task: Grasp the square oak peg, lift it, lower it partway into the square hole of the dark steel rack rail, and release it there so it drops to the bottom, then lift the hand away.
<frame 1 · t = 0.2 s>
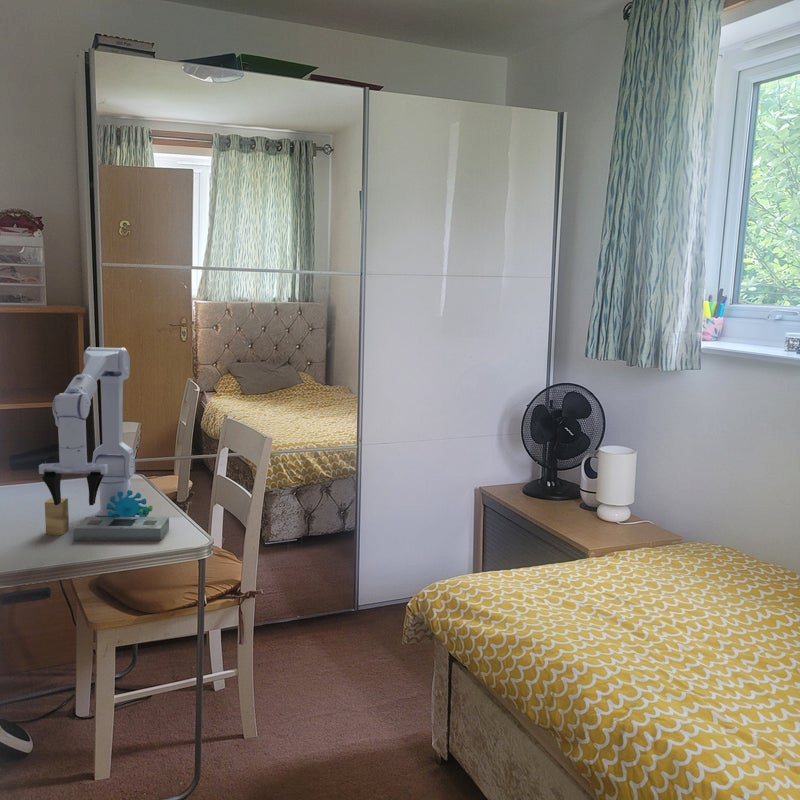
hand: (75, 504, 175), 10 cm above the table, fingers open, 7 cm apart
peg: (57, 531, 186), on the table
gear: (129, 523, 195), on the table
rack rail: (122, 534, 185), on the table
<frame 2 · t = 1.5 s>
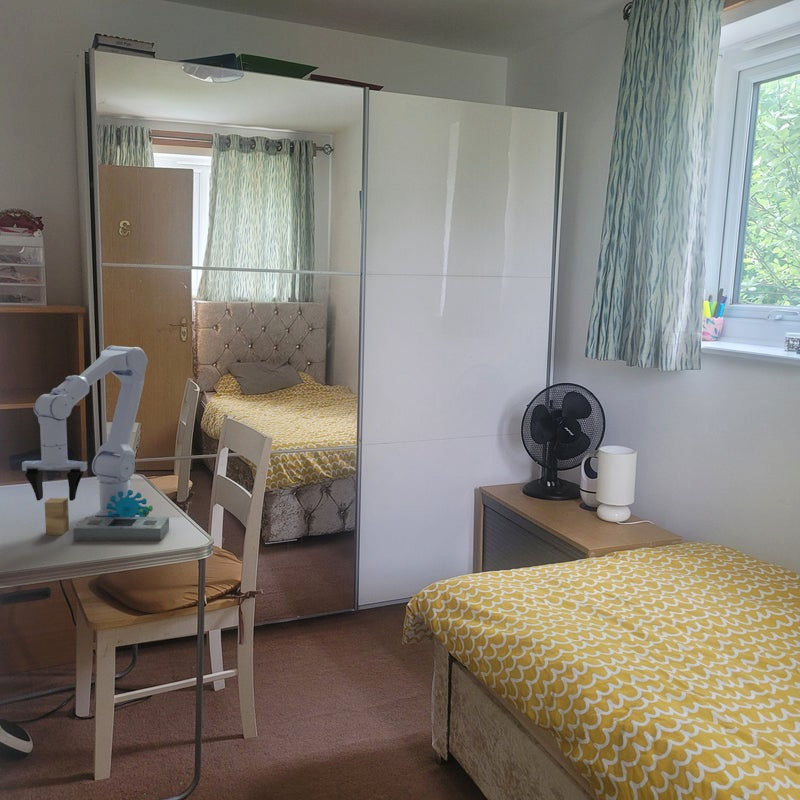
hand: (56, 499, 185), 8 cm above the table, fingers open, 7 cm apart
nothing on the table moved.
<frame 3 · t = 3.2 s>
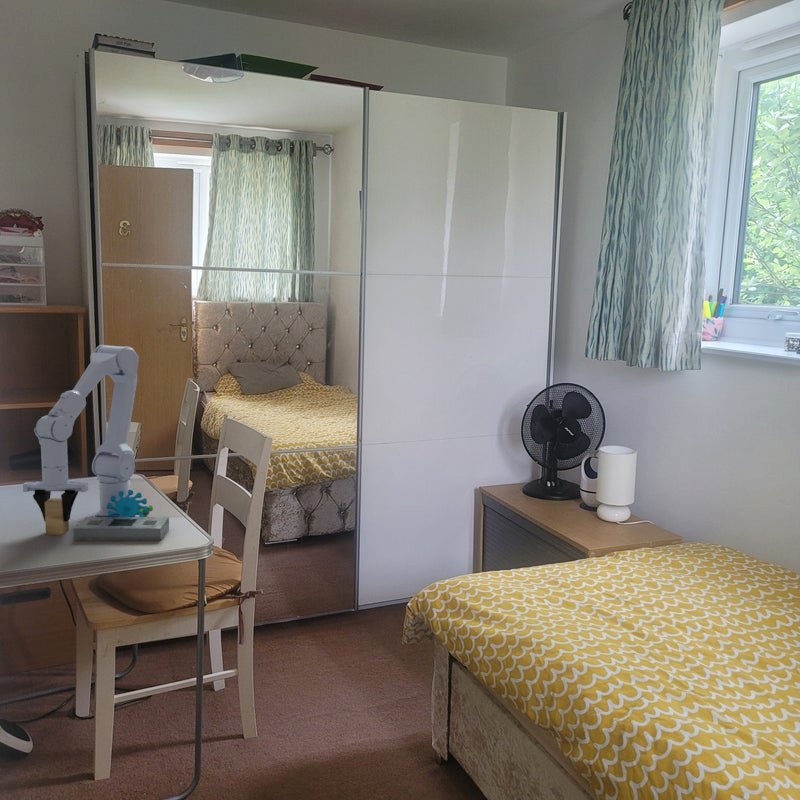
hand: (57, 520, 185), 3 cm above the table, fingers closed on peg, 4 cm apart
peg: (57, 531, 186), on the table, touching gripper
everything else where it was.
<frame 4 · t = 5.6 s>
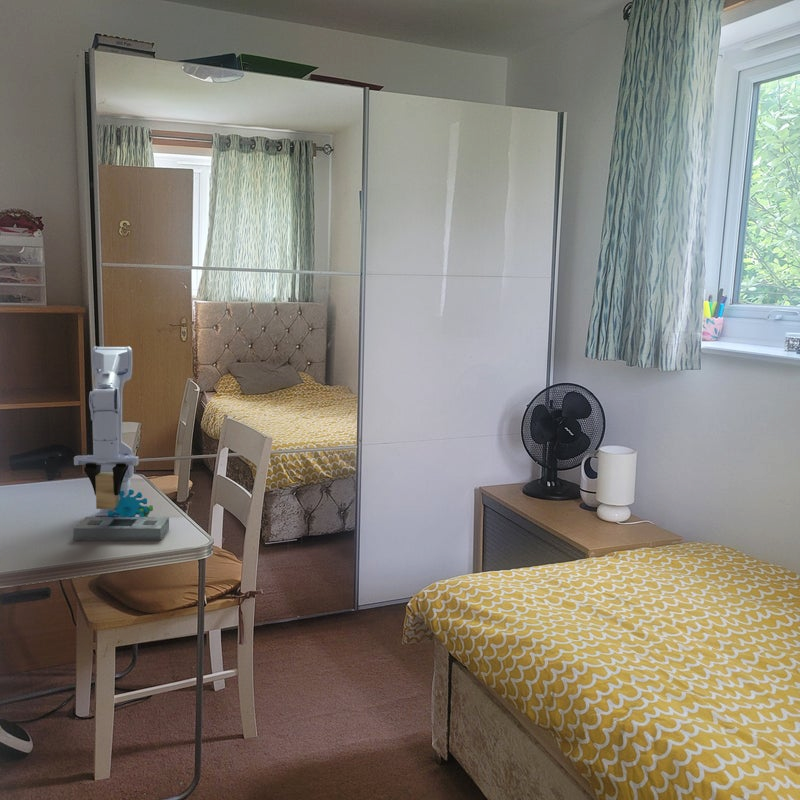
hand: (107, 494, 184), 10 cm above the table, fingers closed on peg, 4 cm apart
peg: (107, 506, 184), point 7 cm above the table, touching gripper
everything else where it was.
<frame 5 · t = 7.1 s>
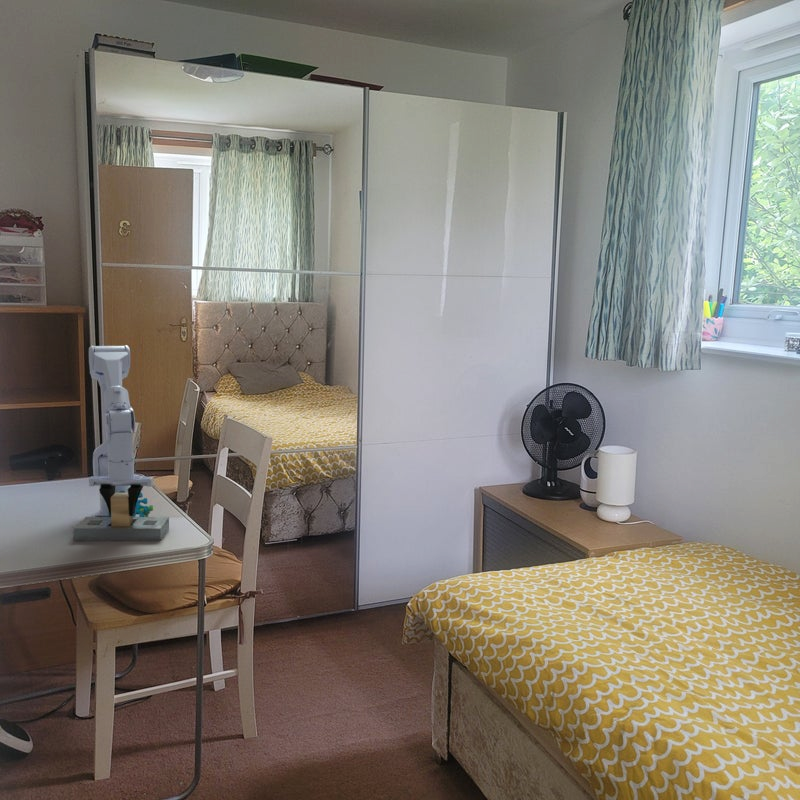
hand: (122, 514, 184), 5 cm above the table, fingers closed on peg, 4 cm apart
peg: (122, 527, 185), point 2 cm above the table, touching gripper
everything else where it was.
when the fingers open (4 cm above the table, at t = 8.2 s): peg stays where it is, resting in rack rail.
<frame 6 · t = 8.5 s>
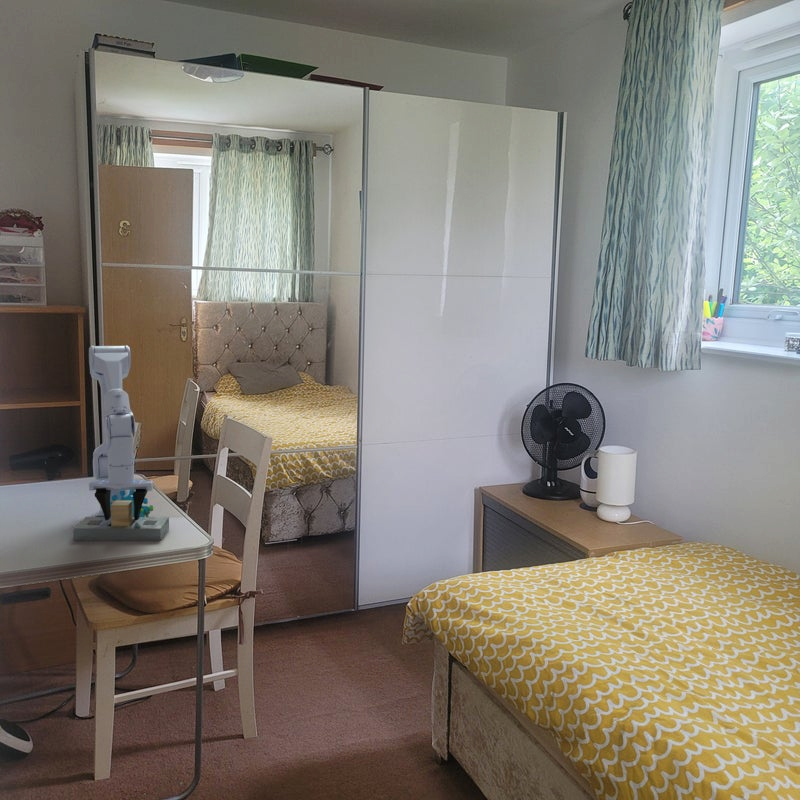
hand: (122, 518, 185), 4 cm above the table, fingers open, 6 cm apart
peg: (122, 534, 185), resting in rack rail
everything else where it was.
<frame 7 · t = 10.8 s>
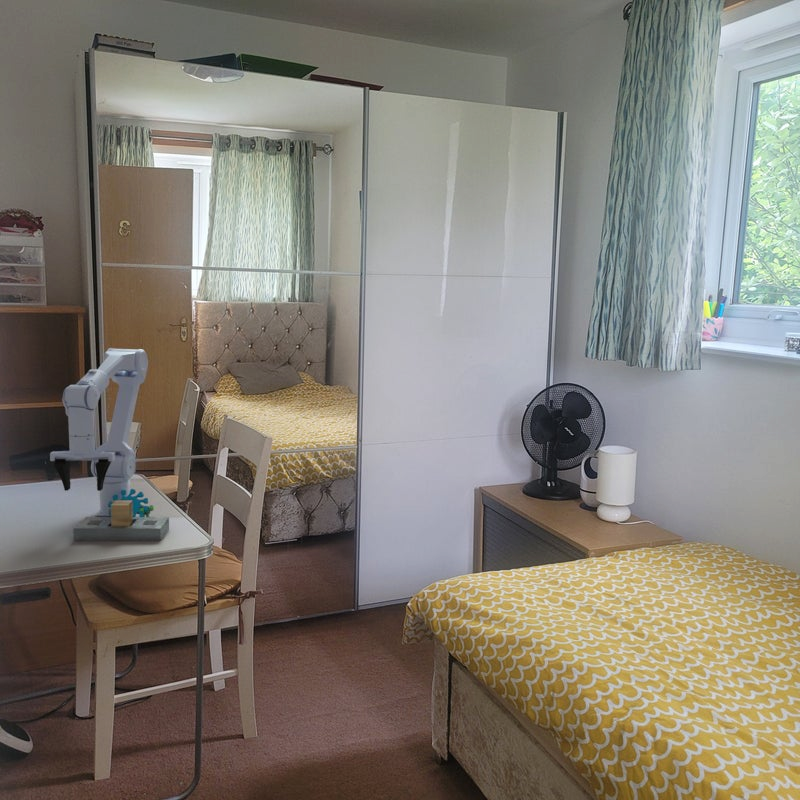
hand: (83, 489, 185), 10 cm above the table, fingers open, 7 cm apart
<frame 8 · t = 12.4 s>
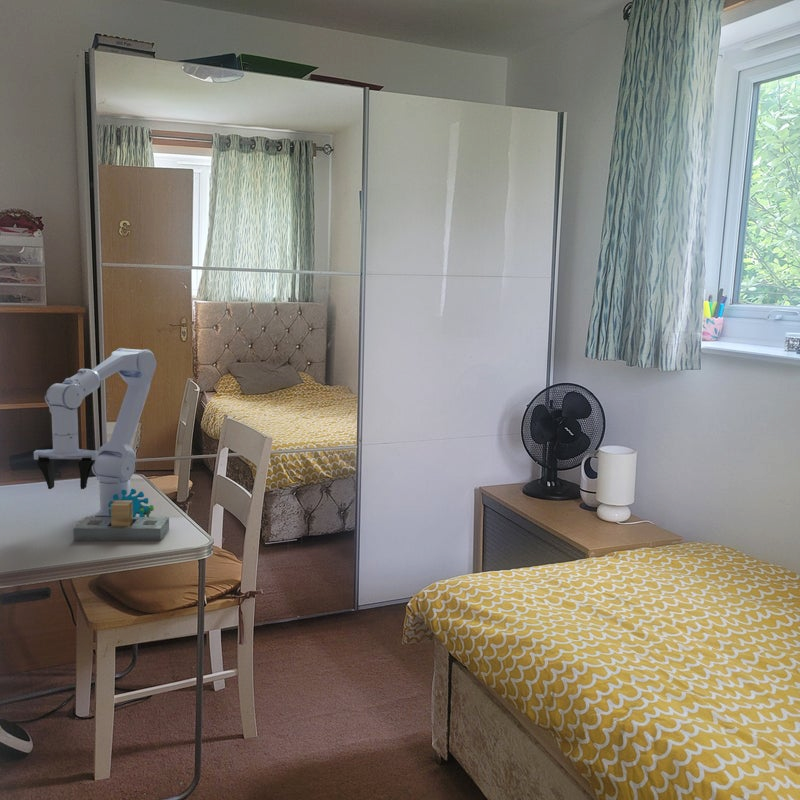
hand: (67, 488, 186), 10 cm above the table, fingers open, 7 cm apart
at the end: peg 0.1 cm off-centre on the rack rail, point 0.0 cm above the rack rail's base; peg tilted 0°; the gripper is holding nothing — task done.
